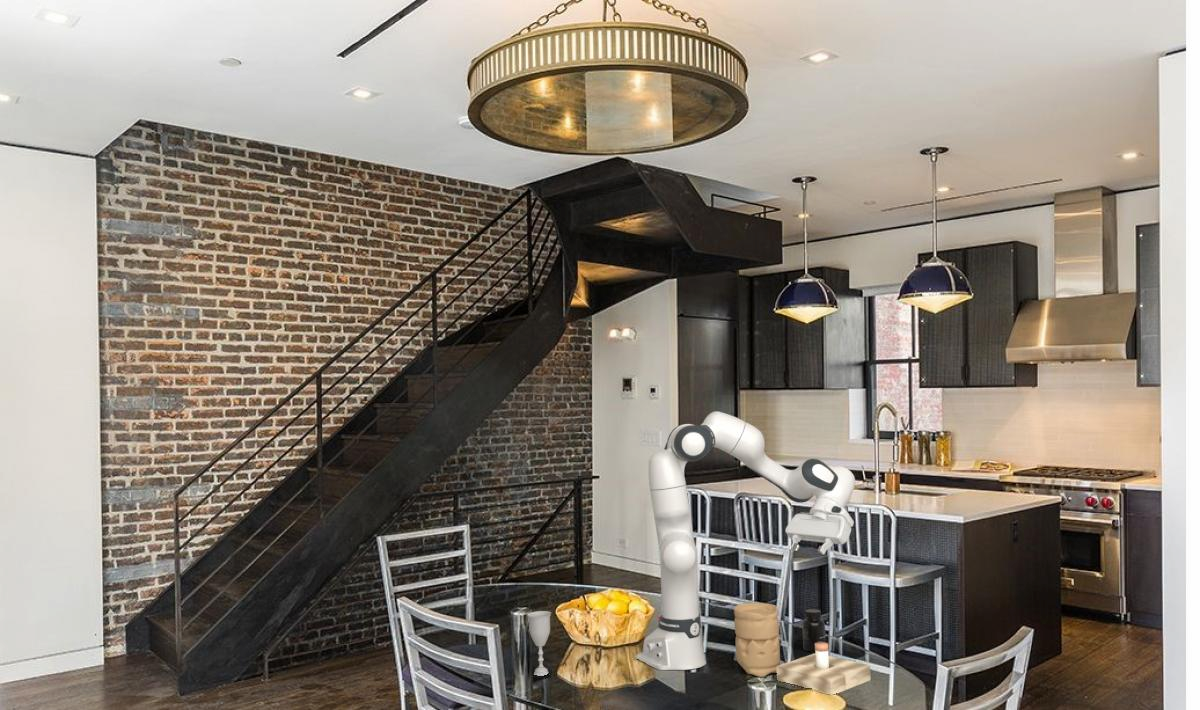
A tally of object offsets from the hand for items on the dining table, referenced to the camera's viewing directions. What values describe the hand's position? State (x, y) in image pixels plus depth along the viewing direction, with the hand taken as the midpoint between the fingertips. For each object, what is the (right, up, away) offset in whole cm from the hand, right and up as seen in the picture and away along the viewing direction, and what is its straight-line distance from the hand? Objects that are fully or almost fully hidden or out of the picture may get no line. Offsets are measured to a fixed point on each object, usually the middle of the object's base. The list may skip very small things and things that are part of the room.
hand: (807, 551), depth 262 cm
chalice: (-78, -36, -2) cm, 86 cm away
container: (-15, -34, -3) cm, 37 cm away
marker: (+1, -33, -15) cm, 36 cm away
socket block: (+1, -33, -15) cm, 36 cm away
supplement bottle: (+6, -34, +15) cm, 38 cm away
